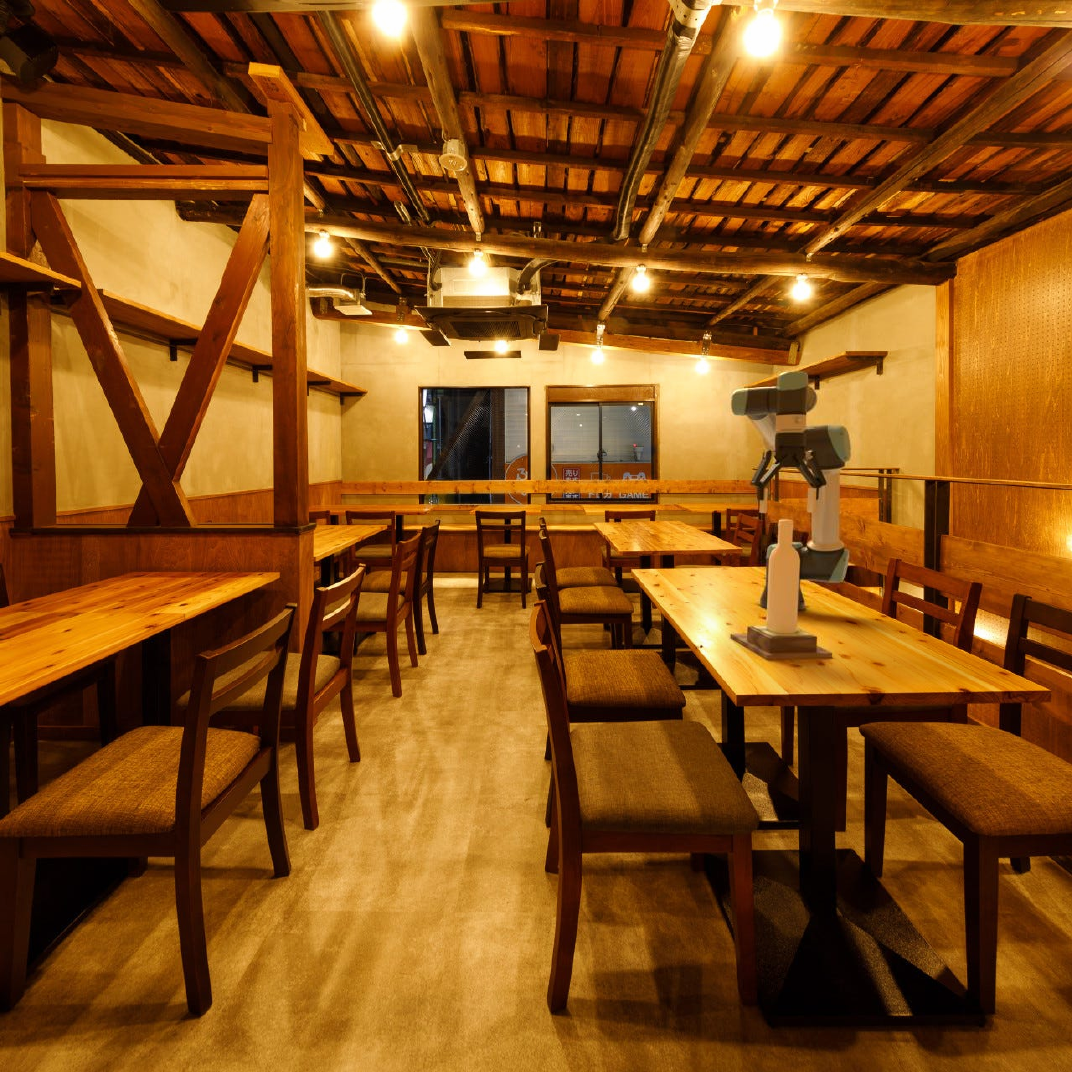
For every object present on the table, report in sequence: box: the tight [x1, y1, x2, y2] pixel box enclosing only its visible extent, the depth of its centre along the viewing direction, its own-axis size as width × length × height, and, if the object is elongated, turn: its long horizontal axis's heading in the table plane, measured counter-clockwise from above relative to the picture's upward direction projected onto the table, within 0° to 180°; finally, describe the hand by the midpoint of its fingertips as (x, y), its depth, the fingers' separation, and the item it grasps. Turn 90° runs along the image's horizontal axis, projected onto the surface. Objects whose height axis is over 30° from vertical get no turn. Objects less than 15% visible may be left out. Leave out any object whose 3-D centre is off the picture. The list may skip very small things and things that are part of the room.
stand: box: [729, 625, 833, 661], centre depth 174 cm, size 22×18×6 cm
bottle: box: [765, 519, 800, 634], centre depth 169 cm, size 8×8×30 cm
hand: (787, 512), depth 168 cm, fingers open, 13 cm apart
